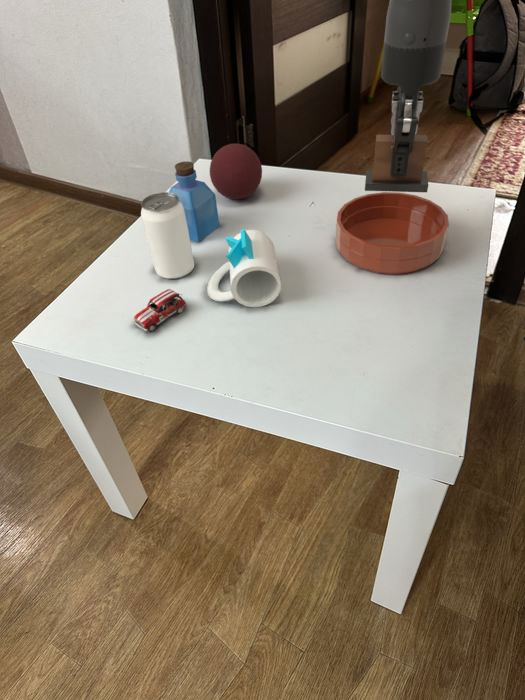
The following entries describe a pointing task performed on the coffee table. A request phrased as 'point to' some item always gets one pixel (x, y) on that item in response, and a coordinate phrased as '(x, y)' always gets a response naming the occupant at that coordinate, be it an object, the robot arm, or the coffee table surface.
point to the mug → (248, 270)
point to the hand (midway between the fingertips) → (397, 171)
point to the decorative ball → (235, 171)
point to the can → (167, 235)
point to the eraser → (382, 166)
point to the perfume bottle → (195, 202)
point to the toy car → (159, 309)
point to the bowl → (391, 232)
